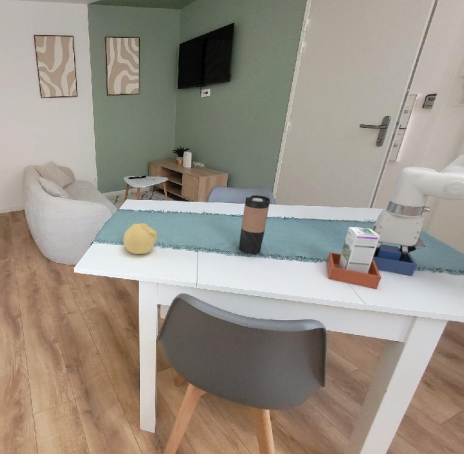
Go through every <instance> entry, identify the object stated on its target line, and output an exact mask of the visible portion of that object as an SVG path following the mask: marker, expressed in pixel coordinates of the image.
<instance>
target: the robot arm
mask: <svg viewBox="0 0 464 454" xmlns="http://www.w3.org/2000/svg"><path fill="white" fill-rule="evenodd" d="M429 197H433V198H437V199H441V200H446V201H462V200H464V153H462V154H460V155H459V156H458V157H457V158H456V159H454V160H453V161H452V162H450V163H449V164H448V165H447V166H445V167H444V168H442V169H441V170H440V171H439V172H438V171H437V170H436V169H433V168H430V167H424V166H406V167H404V168H402V169H401V170H400V172H399V174H398V177H397V179H396V183H395V185H394V188H393V190H392V193H391V196H390V198H389V202H388V205H387V207H386V208H383V209H382V210H381V212H380V213H379V215H378V216H377V217H376V220H375V222H374V225H373V227H372V228H371V229H372V230H373V231H374V232H376V233H377V234H378V235H379V236H380V238H379V241H378V244H377V247H376V250H375V253H374V256H373V257H377V254H378V252H379V250H378V247H379V246H380V245H381V244H383V243H384V244H390V245H398V246H399V248H400V251H401V253H402V254H401V256H400V258H399V261H403V259H404V256H405V255H406V254H408V253H409V254H410V253H411V252H414V251H416V250H419V249H422V248H425V247H426V245H425V243H424V241H422V239H421V237H420V235H421V231H422V228H423V222H424V215H423V213H430V212H431V207H429V206H426V203H427V201H428V199H429Z"/></svg>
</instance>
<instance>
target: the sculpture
mask: <svg viewBox="0 0 464 454" xmlns="http://www.w3.org/2000/svg"><path fill="white" fill-rule="evenodd" d="M157 241H158V231H157V230H156V229H154V228H152V227H151V226H149V225H148V224H147V223H144V222H143V223H133V224H132V225H131V226H129V227H128V228H127V229H126V230H125V232H124V235H123V245H124V248H125V249H126V250H127V252H128V253H130V254H134V255H143V254H148V253H149V252H151V250H152V249H153V248H154V246H155V244H156V243H157Z"/></svg>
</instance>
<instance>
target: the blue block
mask: <svg viewBox="0 0 464 454" xmlns="http://www.w3.org/2000/svg"><path fill="white" fill-rule="evenodd" d="M399 248H400V247H398V246H396V245H391V244H390V245H389V244H383V243H382V244H381V245H380V246H379V247H378V250H379V252H378V254H377V257H379V258H385V259H391V260H396V261H399V258H400V256H401V254H402V253H401V251H400V250H399Z"/></svg>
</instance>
